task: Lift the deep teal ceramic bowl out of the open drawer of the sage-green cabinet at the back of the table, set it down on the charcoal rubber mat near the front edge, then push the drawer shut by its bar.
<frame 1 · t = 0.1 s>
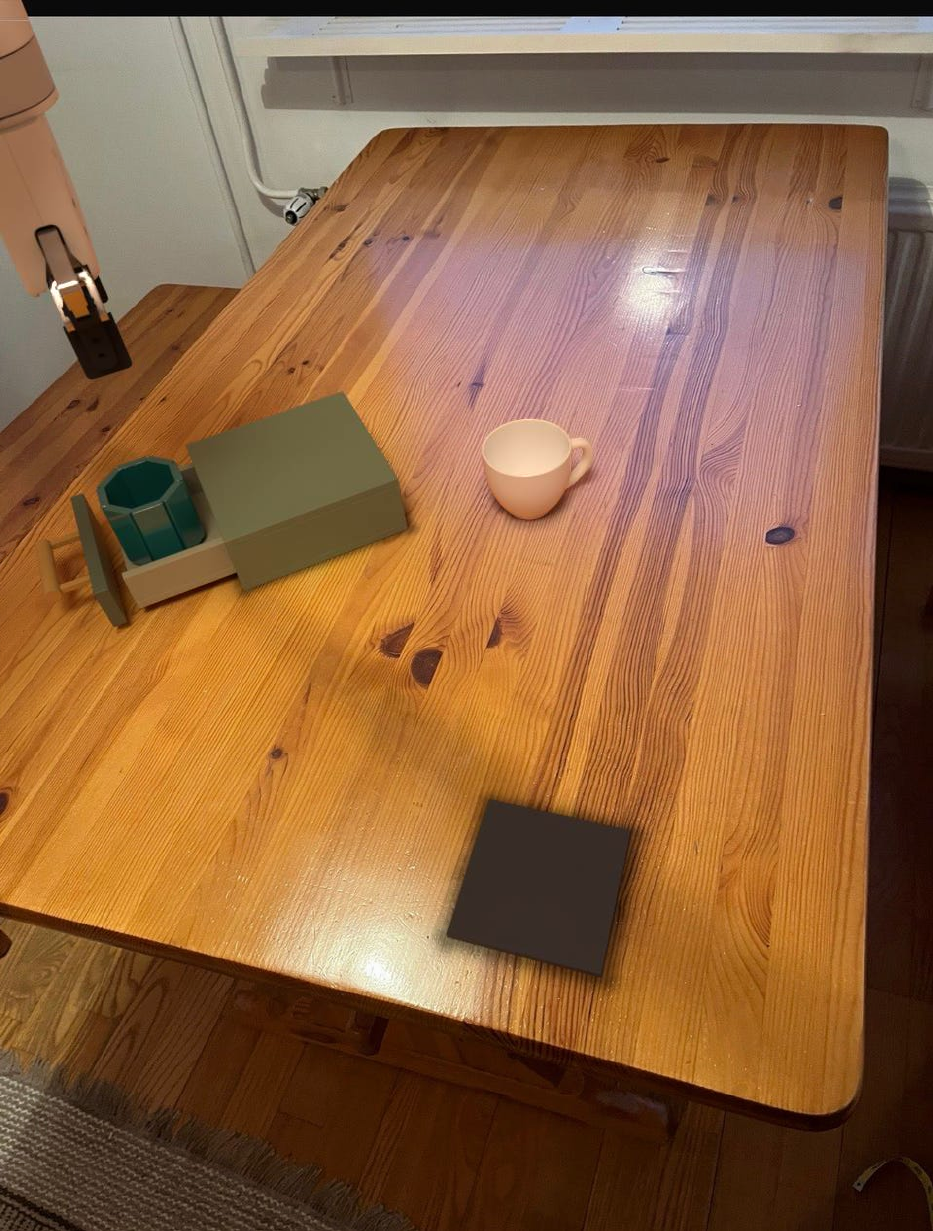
hand: (99, 337, 67), 23 cm above the table, tool pointing down, fingers open, 9 cm apart
cup: (541, 502, 86), on the table
mat: (541, 884, 61), on the table
bowl: (167, 542, 84), point 2 cm above the table, touching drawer
cabinet: (303, 510, 88), on the table
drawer: (148, 539, 82), point 3 cm above the table, slide at 10.0 cm, touching bowl
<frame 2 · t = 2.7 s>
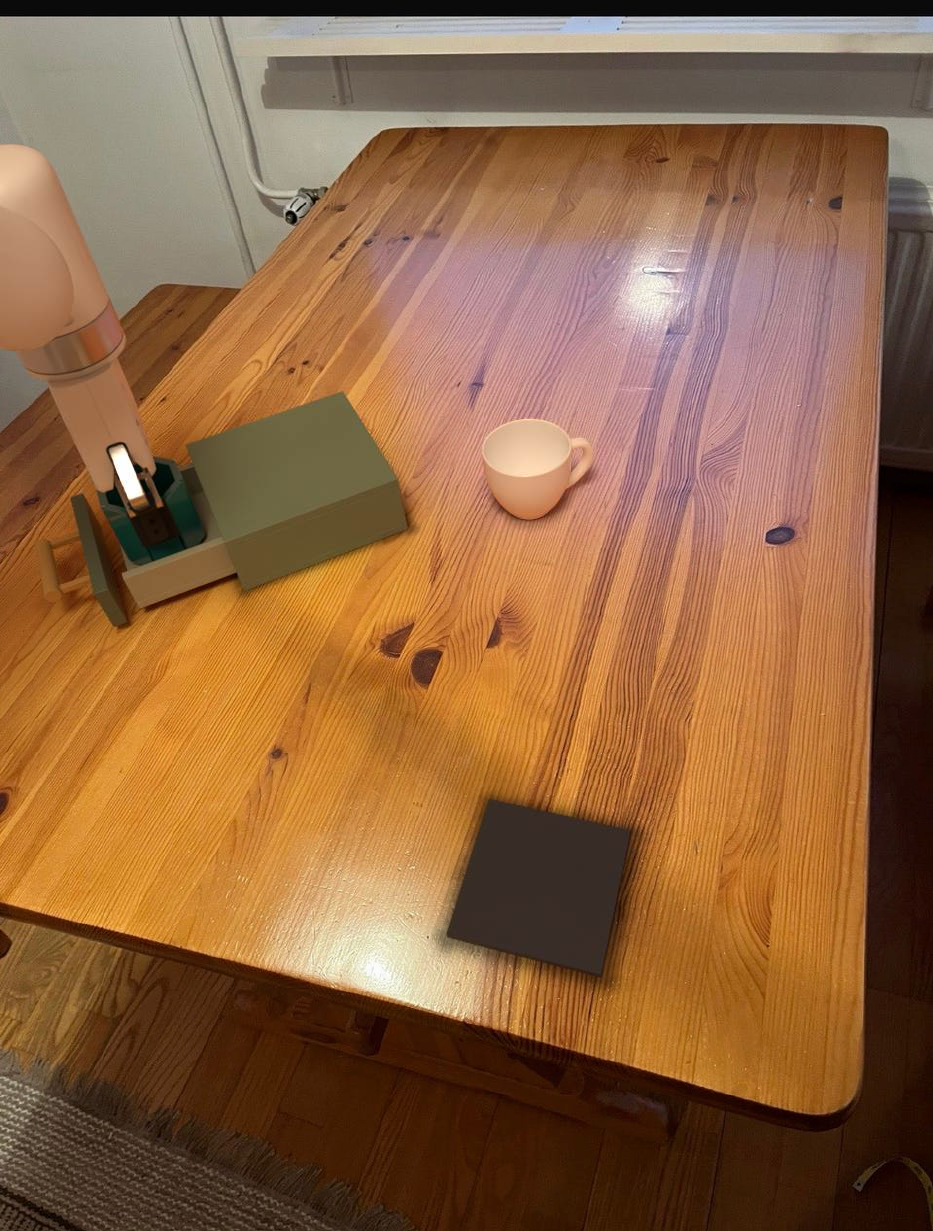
hand: (152, 511, 81), 6 cm above the table, tool pointing down, fingers closed on bowl, 7 cm apart
bowl: (167, 542, 84), point 2 cm above the table, touching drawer, gripper
everything else where it was.
when the fingers open (4 cm above the table, at t = 12.1 s): bowl stays where it is, resting on mat.
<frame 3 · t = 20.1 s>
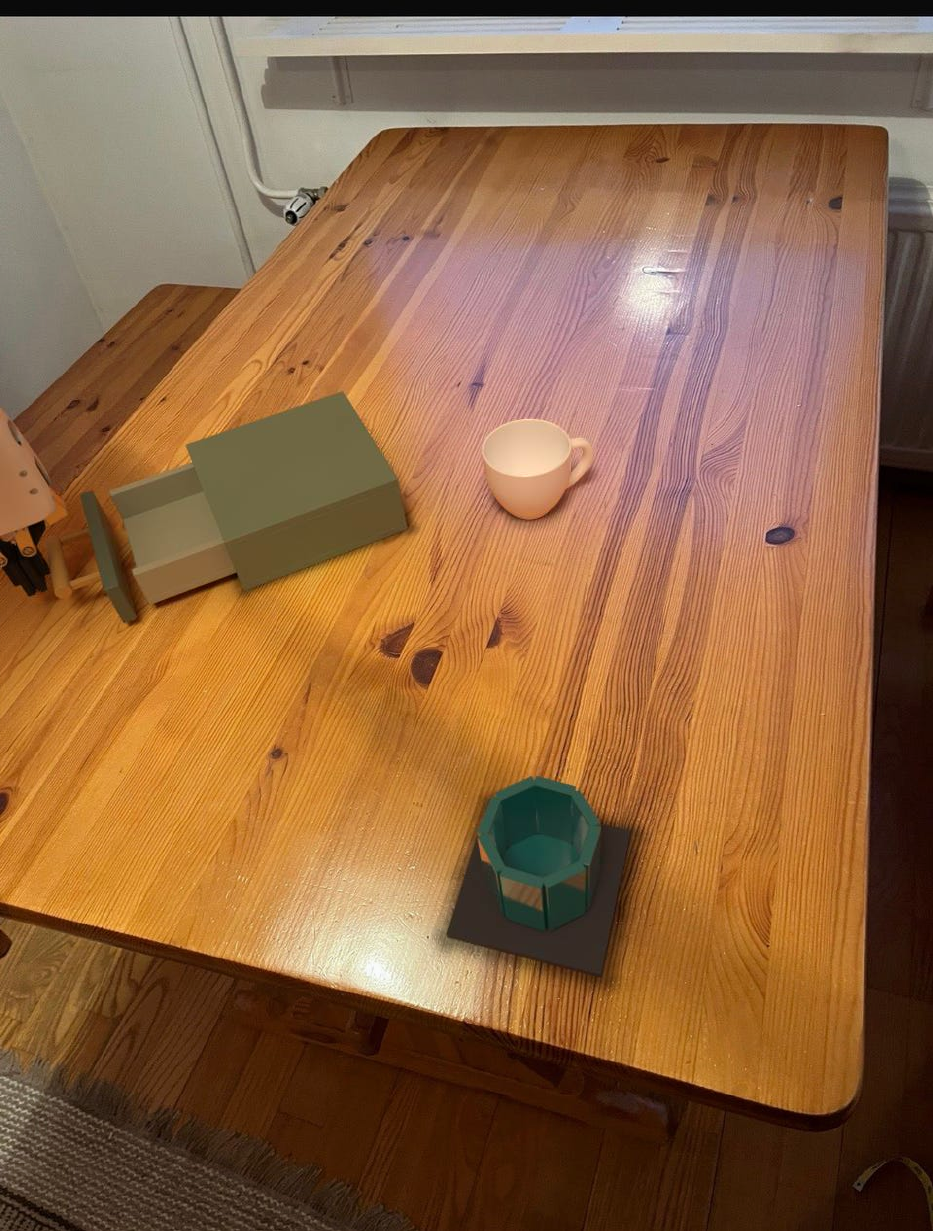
hand: (36, 583, 81), 3 cm above the table, tool pointing down, fingers closed
bowl: (542, 879, 61), point 1 cm above the table, touching mat
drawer: (157, 536, 83), point 3 cm above the table, slide at 9.1 cm, touching gripper
everything else where it was.
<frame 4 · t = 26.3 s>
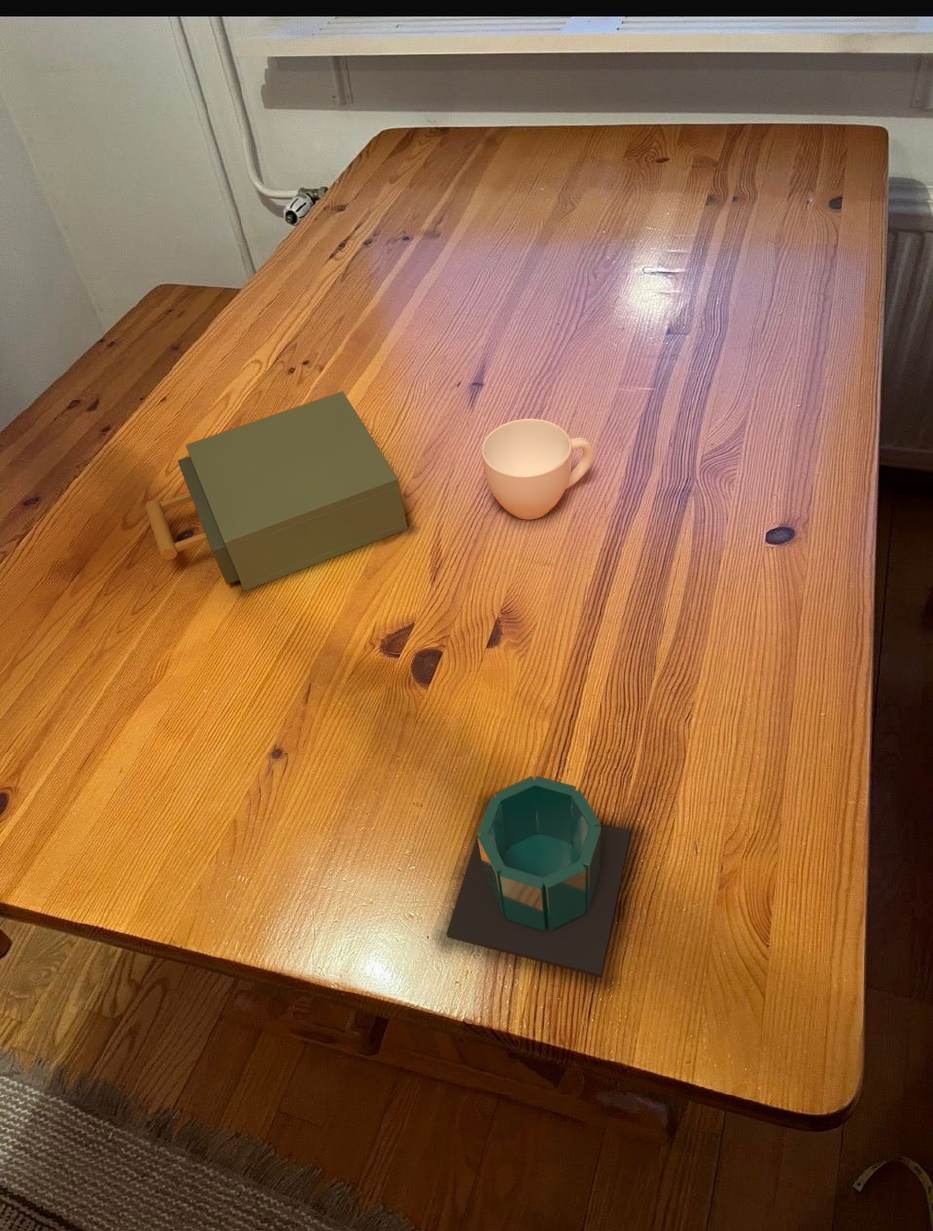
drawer: (255, 501, 84), point 3 cm above the table, slide at 0.0 cm
everything else where it was.
at the end: bowl inside the target area on the mat (0.1 cm from its centre), point 0.6 cm above the mat's base; bowl tilted 0°; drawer slide at 0.0 cm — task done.
